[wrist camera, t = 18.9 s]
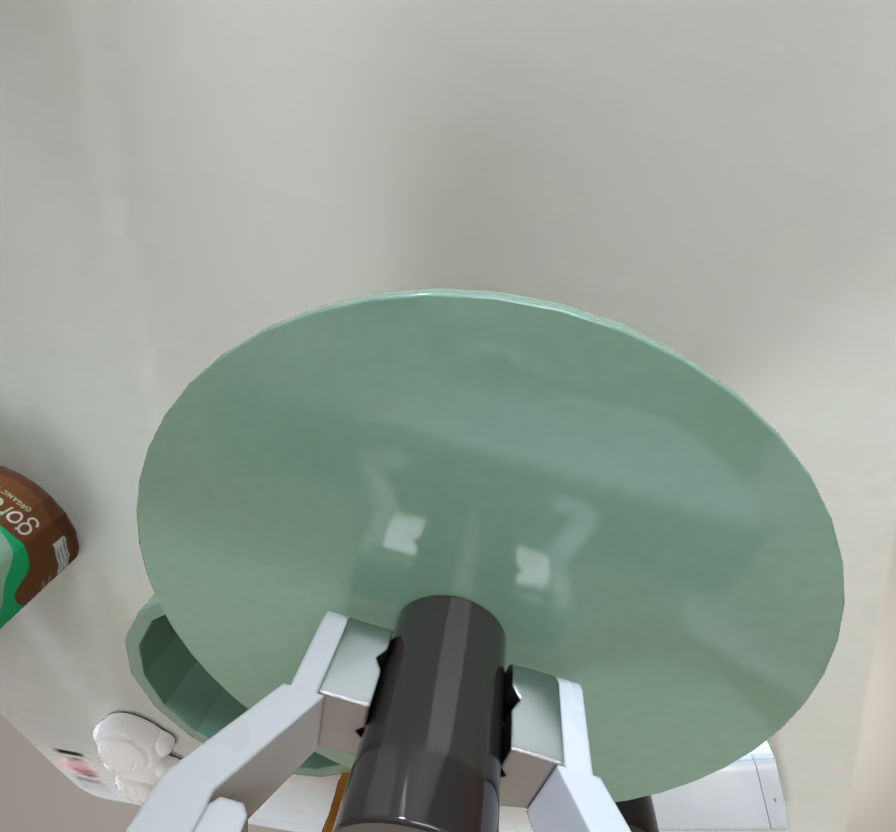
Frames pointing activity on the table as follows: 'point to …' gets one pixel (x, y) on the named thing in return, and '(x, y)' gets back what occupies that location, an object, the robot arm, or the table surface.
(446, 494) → the lid
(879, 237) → the table surface
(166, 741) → the white flat figurine
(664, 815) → the hard drive
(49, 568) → the food container
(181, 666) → the pot
